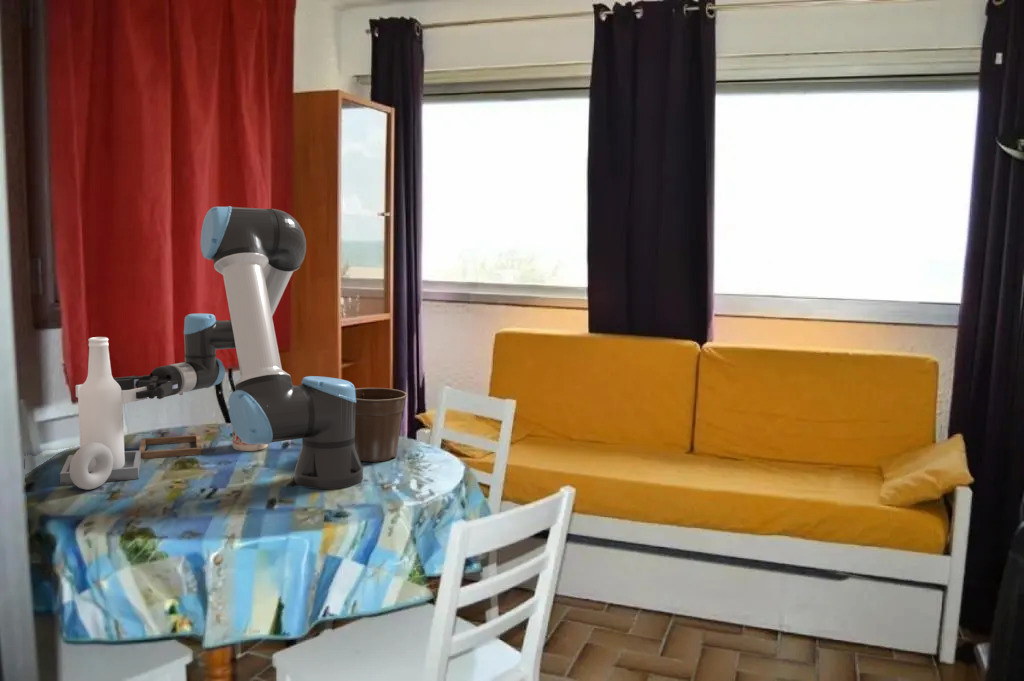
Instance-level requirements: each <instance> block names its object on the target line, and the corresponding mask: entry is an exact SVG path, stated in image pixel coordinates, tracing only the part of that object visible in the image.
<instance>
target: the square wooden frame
mask: <svg viewBox="0 0 1024 681" xmlns="http://www.w3.org/2000/svg"><path fill="white" fill-rule="evenodd" d="M180 443H181V444H182V443H195V444H196V445H195V446H196V447H191V448H190V447H188V448H178V449H177V448H176V449H161V450H147V451H146V446H151V445H152V446H153V445H166V444H167V445H169V444H180ZM139 450H141V460H143V459H144V460H145V459H158V458H169V457H170V458H171V457H184V456H186V455H187V456H197V455H198V456H199V455H200V454H201V455H202V451H203V450H202V441H201V434H195V435H180V436H179V435H177V436H176V435H175V436H163V437H147V438H143V437H142V438H141V439H140V444H139Z"/></svg>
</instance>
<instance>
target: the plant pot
mask: <svg viewBox="0 0 1024 681" xmlns="http://www.w3.org/2000/svg"><path fill="white" fill-rule="evenodd" d="M355 394H356V420H355V446H356V449H357V452H358V455H359V458H360V461H361V462H370V463H376V462H377V463H379V462H384V461H385V462H386V461H390V460H391V459H395V458H396V457H397V455H398V447H399V439H400V432H401V429H400V428H401V422H402V415H403V411H404V409H405V402H406V401H405V400H406V398H407V397H408V393H407V392H405V391H403V390H400V389H394V388H386V387H359V388H358V387H357V388H355Z"/></svg>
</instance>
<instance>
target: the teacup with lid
mask: <svg viewBox="0 0 1024 681" xmlns="http://www.w3.org/2000/svg"><path fill="white" fill-rule="evenodd" d="M231 426H232V425H231ZM268 446H269V444H254V445H249V444H246V443H244V442H243V441H241V439H240V438H239V437H238V436H237V435H236V433H235V431H234V429H233V426H232V448H233V449H234V450H236V451H240V452H255V451H260V450H261V451H262V450H264V449H266V448H267V447H268Z"/></svg>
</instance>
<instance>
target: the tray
mask: <svg viewBox="0 0 1024 681" xmlns="http://www.w3.org/2000/svg"><path fill="white" fill-rule="evenodd" d="M124 454H125V464H124V466H123V468H113V469H112V471H111V474H110V476H109V477H108V479H107V480H106V481H105V482H115V481H117V482H118V481H128V480H139V478H140V477H139V476H140V471H141V470H140V469H141V465H142V464H141V463H142V459H141V450H126V451H125V450H124ZM73 456H74V454H69V455H68V456H67V458H66V460H65V462H64V465H63V466H62V469H61V471H60V473H59V481H60V486H65V485H75V484H74V483H73V481H72V479H71V478H70V472H69V470H70V463H71V460H72V458H73ZM88 472H89V474H90V473H92V472H93V470H88Z"/></svg>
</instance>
